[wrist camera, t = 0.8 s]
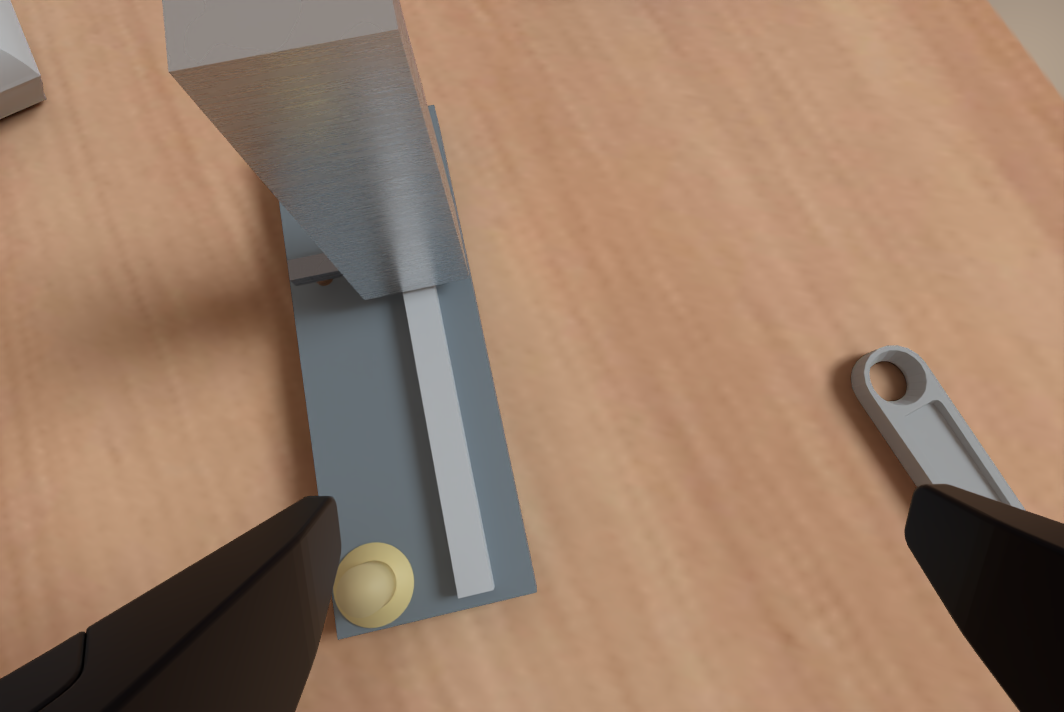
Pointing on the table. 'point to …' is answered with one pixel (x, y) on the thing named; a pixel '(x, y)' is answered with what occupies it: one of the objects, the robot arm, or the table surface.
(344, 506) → the plate
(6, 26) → the stamp
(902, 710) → the table surface
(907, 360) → the adjustable wrench
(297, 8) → the sliding jaw
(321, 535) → the robot arm
